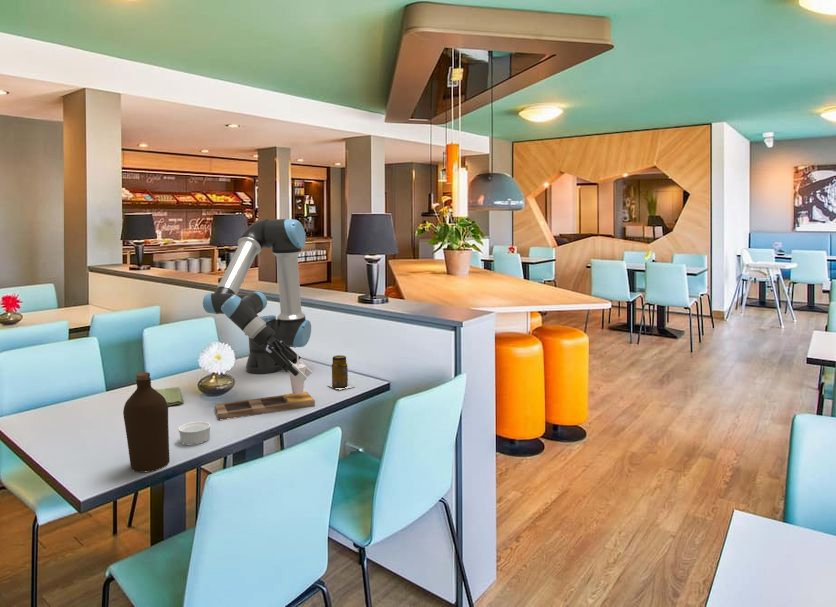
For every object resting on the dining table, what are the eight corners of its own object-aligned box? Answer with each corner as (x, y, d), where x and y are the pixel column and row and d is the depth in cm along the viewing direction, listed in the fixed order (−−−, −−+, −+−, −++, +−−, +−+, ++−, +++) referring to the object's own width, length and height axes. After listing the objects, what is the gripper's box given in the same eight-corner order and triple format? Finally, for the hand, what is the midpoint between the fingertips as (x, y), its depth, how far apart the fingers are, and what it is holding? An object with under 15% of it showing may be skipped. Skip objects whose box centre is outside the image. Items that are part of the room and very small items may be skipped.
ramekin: (188, 434, 172) (187, 420, 171) (216, 435, 171) (215, 421, 170) (173, 446, 163) (172, 431, 162) (203, 446, 162) (202, 432, 161)
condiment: (343, 383, 224) (342, 353, 222) (354, 387, 218) (354, 357, 216) (327, 386, 220) (326, 356, 218) (338, 391, 213) (337, 360, 211)
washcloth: (143, 412, 193) (142, 402, 192) (144, 397, 209) (143, 389, 208) (184, 406, 198) (184, 397, 198) (182, 392, 214) (181, 384, 214)
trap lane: (214, 410, 193) (214, 403, 193) (307, 397, 206) (306, 391, 206) (218, 420, 183) (218, 413, 183) (314, 405, 197) (314, 399, 196)
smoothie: (298, 396, 195) (296, 356, 193) (284, 393, 198) (283, 354, 196) (310, 391, 200) (309, 353, 198) (297, 388, 203) (296, 351, 201)
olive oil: (141, 477, 143) (133, 381, 139) (120, 467, 149) (112, 375, 145) (180, 462, 151) (173, 372, 148) (158, 453, 157) (151, 366, 154)
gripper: (261, 333, 207) (306, 377, 208) (242, 345, 187) (292, 393, 189) (275, 319, 206) (320, 363, 207) (257, 330, 186) (308, 378, 188)
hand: (307, 377), depth 198 cm, fingers closed on smoothie, 6 cm apart
